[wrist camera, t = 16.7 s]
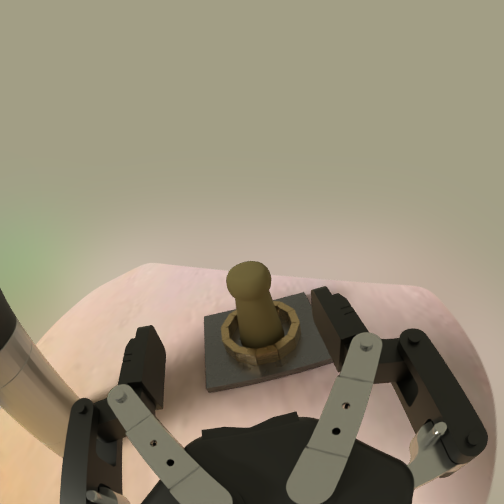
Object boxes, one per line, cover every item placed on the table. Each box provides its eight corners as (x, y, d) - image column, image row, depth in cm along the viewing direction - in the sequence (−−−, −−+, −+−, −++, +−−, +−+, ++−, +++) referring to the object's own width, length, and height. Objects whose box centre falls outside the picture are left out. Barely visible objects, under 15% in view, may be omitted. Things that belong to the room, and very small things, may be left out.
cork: (256, 316, 41) (240, 251, 36) (292, 327, 38) (282, 258, 33) (231, 343, 37) (208, 277, 32) (268, 358, 34) (252, 288, 29)
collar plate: (208, 392, 32) (201, 379, 30) (205, 321, 44) (200, 306, 42) (336, 361, 32) (336, 345, 31) (304, 297, 45) (302, 281, 43)
